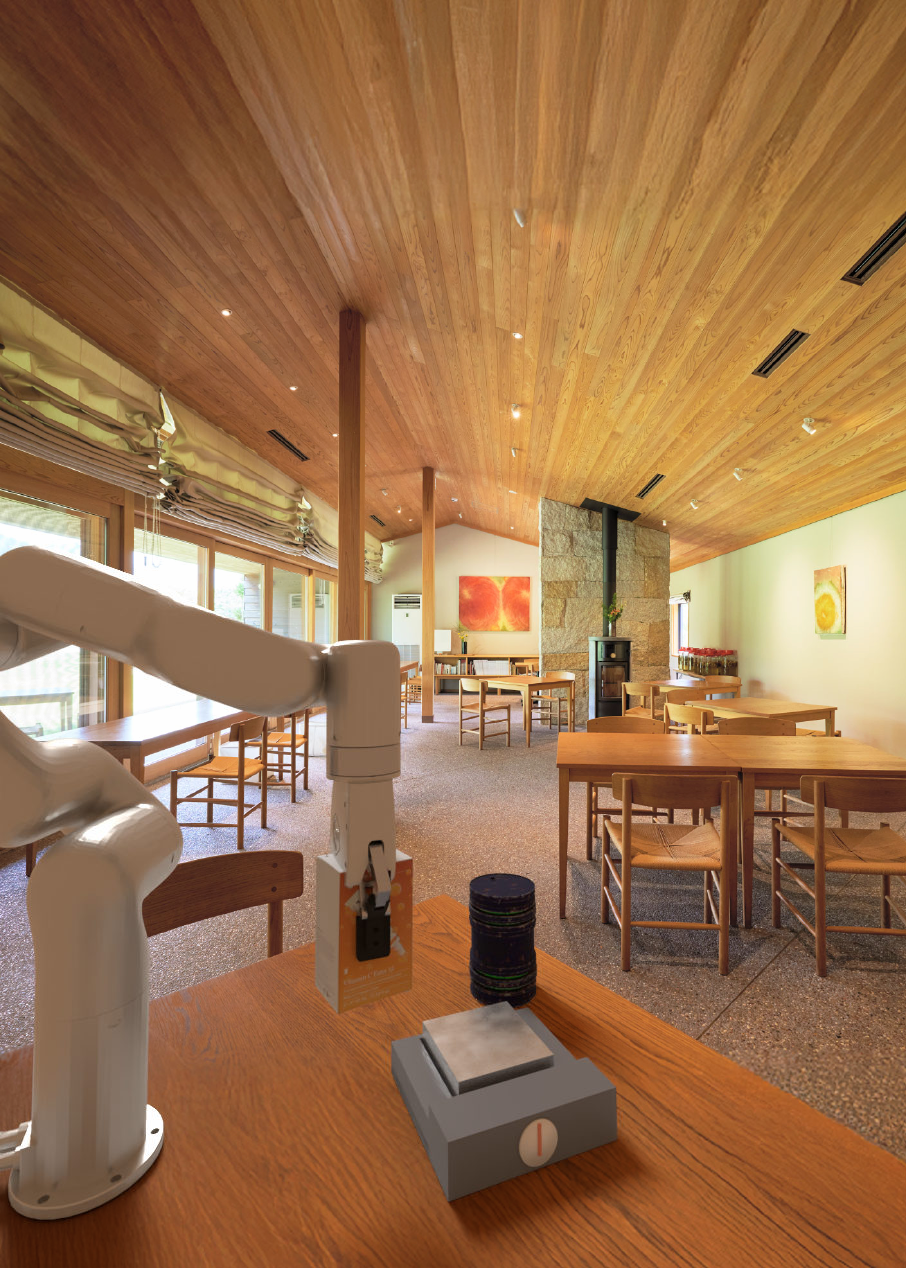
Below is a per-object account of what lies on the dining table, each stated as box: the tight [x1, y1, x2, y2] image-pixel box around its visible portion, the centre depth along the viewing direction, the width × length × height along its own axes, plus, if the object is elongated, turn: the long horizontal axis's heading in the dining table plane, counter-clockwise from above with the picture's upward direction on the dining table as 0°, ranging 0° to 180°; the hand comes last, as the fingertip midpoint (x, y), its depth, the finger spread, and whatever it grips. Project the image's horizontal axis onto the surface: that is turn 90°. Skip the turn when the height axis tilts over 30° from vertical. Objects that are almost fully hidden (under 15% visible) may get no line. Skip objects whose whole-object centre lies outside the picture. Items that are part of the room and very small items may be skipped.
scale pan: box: [422, 1001, 554, 1097], centre depth 66 cm, size 11×11×3 cm
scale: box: [390, 1007, 618, 1203], centre depth 64 cm, size 18×18×5 cm
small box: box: [314, 848, 414, 1015], centre depth 60 cm, size 8×6×13 cm
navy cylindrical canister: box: [468, 872, 538, 1009], centre depth 87 cm, size 10×10×15 cm
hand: (363, 938), depth 60 cm, fingers closed on small box, 7 cm apart
